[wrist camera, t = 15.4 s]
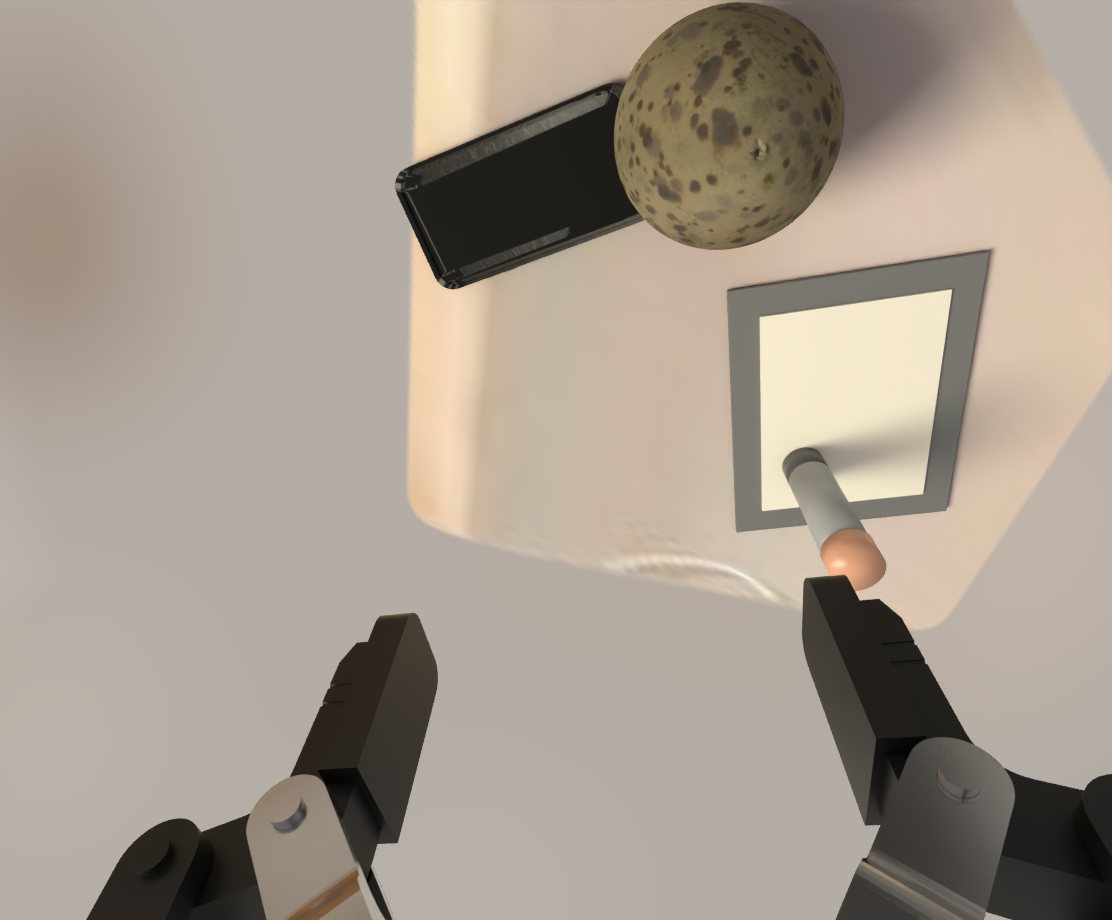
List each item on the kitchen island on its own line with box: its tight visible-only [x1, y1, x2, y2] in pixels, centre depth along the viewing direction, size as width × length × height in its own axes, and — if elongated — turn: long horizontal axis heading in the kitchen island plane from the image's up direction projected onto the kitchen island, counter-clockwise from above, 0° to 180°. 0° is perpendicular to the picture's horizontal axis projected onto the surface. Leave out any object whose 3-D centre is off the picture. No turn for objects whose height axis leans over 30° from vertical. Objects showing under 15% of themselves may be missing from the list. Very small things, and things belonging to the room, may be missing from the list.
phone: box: [395, 83, 645, 289], centre depth 40 cm, size 8×1×15 cm
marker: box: [782, 447, 886, 591], centre depth 43 cm, size 3×3×12 cm
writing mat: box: [727, 251, 989, 532], centre depth 46 cm, size 20×16×1 cm
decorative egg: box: [614, 3, 844, 250], centre depth 31 cm, size 11×11×15 cm
